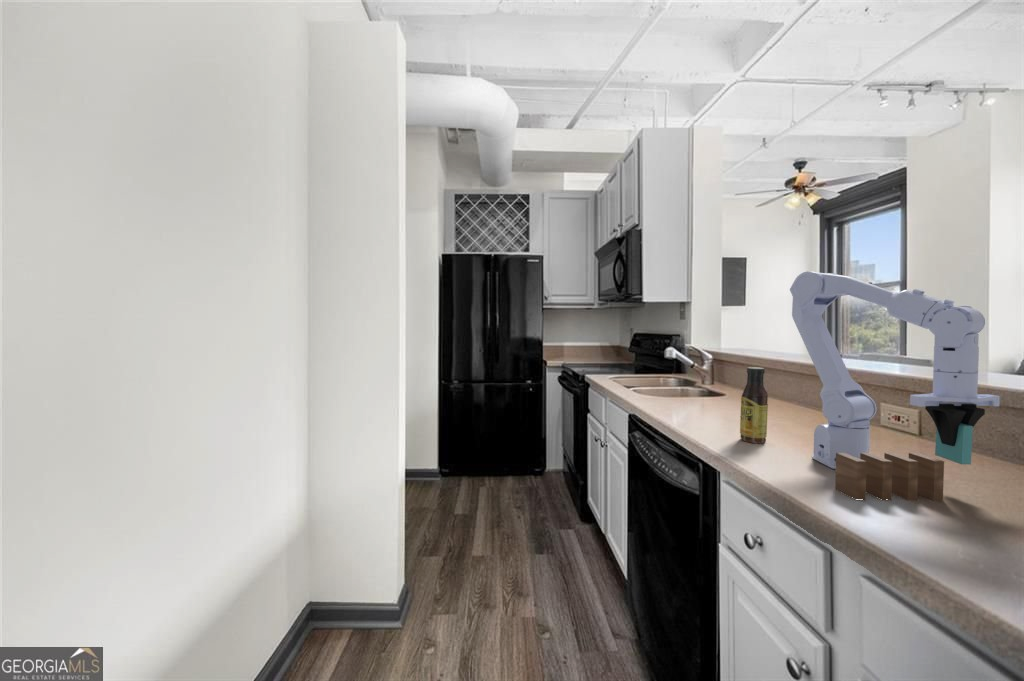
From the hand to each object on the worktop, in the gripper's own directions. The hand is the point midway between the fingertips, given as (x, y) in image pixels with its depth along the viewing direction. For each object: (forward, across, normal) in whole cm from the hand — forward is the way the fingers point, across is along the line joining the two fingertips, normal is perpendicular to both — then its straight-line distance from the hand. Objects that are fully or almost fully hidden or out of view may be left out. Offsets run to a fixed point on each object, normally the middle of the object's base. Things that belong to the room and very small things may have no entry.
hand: (953, 444), depth 78 cm
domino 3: (+9, -11, -2) cm, 14 cm away
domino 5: (+3, 0, 0) cm, 3 cm away
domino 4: (+9, -6, -2) cm, 11 cm away
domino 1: (+9, -20, -1) cm, 22 cm away
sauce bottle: (+9, -17, +34) cm, 39 cm away
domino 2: (+9, -16, -1) cm, 18 cm away
